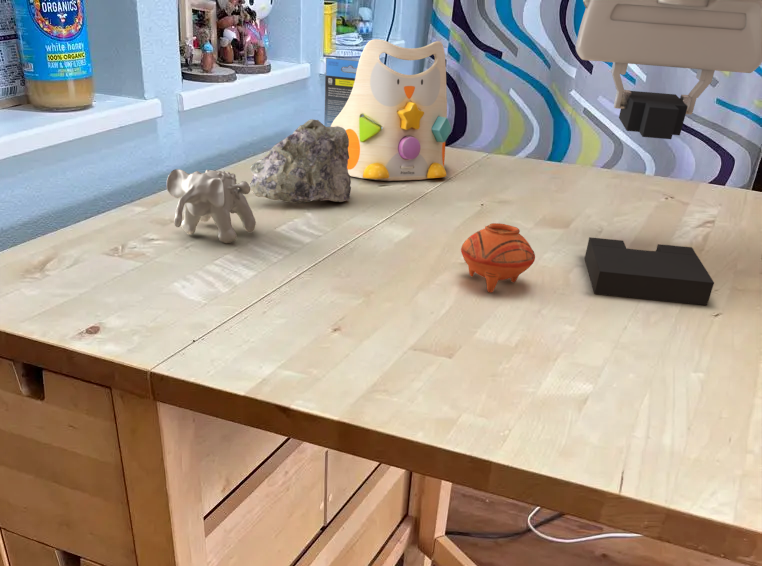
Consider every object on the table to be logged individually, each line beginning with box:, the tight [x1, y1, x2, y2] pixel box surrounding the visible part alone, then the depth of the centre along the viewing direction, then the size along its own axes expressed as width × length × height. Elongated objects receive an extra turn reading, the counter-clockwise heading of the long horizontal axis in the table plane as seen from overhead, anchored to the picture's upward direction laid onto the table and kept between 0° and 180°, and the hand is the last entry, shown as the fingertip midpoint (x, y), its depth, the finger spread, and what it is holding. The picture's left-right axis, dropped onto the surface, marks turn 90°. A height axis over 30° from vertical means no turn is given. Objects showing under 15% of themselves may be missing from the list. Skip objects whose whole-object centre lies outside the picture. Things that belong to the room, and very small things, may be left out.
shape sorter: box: [331, 38, 453, 182], centre depth 119 cm, size 20×10×18 cm, turn 111°
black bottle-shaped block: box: [618, 90, 688, 140], centre depth 93 cm, size 6×11×3 cm, turn 172°
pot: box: [460, 222, 536, 294], centre depth 87 cm, size 8×8×7 cm
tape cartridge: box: [323, 57, 365, 127], centre depth 138 cm, size 9×4×12 cm, turn 74°
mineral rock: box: [249, 118, 352, 204], centre depth 107 cm, size 13×11×10 cm
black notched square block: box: [584, 237, 715, 306], centre depth 91 cm, size 12×12×2 cm
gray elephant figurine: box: [166, 168, 257, 244], centre depth 92 cm, size 9×12×8 cm
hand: (652, 110), depth 94 cm, fingers closed on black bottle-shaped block, 6 cm apart
